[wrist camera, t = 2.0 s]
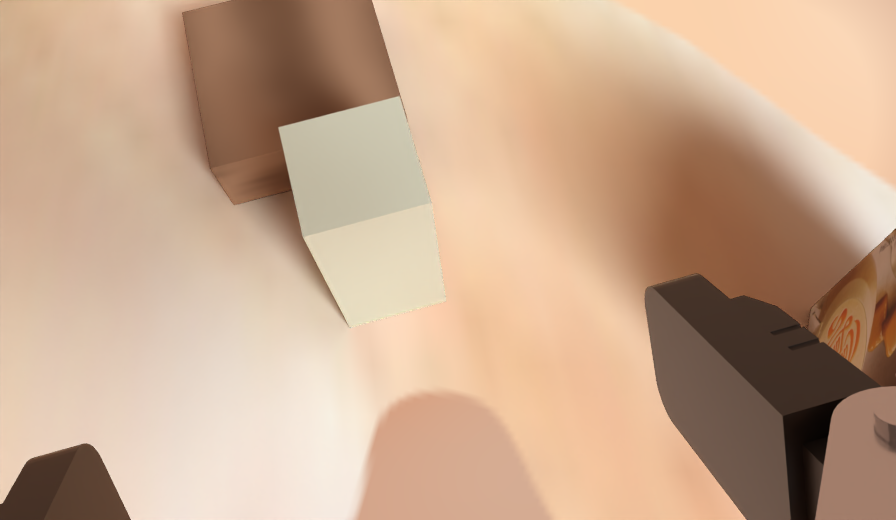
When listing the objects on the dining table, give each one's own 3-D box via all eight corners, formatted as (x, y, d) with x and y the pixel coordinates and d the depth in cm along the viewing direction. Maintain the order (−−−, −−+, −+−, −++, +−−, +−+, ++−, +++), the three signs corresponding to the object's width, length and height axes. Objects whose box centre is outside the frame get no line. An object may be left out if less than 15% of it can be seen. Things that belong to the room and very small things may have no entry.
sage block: (349, 327, 40) (302, 237, 30) (329, 240, 42) (278, 127, 32) (446, 301, 41) (431, 202, 30) (421, 215, 42) (399, 95, 32)
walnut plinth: (234, 205, 43) (210, 168, 40) (206, 58, 47) (182, 12, 43) (413, 157, 44) (406, 117, 40) (372, 16, 48) (361, -33, 44)
